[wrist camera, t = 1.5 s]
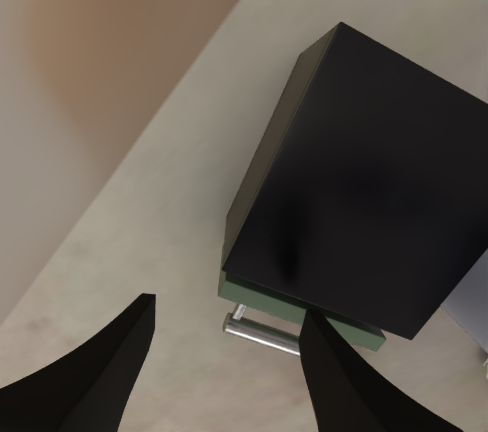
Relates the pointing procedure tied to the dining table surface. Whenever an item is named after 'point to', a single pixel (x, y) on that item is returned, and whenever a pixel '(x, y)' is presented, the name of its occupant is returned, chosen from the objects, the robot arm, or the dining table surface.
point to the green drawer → (283, 316)
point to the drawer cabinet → (364, 187)
